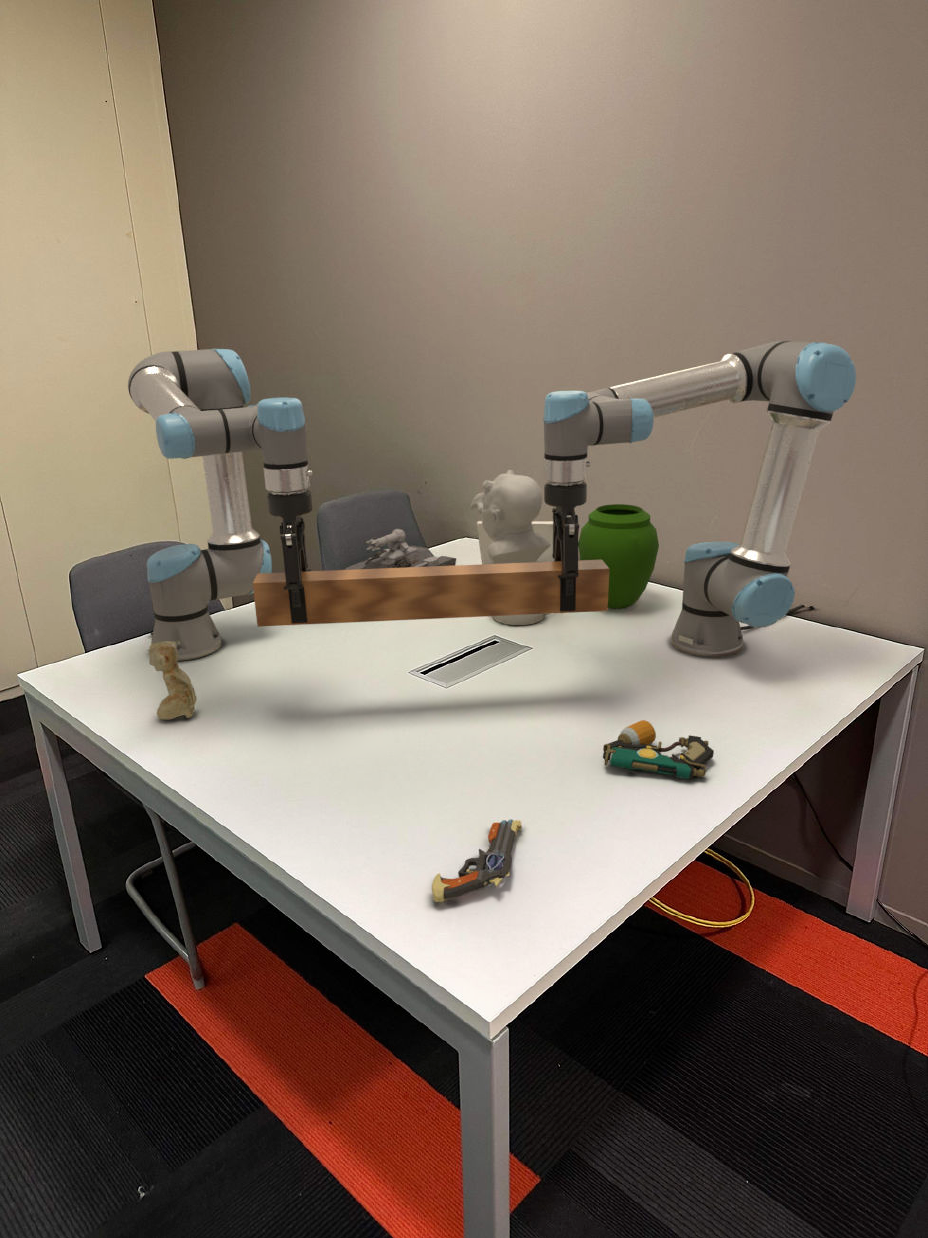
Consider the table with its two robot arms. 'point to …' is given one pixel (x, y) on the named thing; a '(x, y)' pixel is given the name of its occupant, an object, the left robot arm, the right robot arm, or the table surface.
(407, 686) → the table surface
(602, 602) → the wooden beam
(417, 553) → the toy
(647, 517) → the vase
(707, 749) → the spray gun
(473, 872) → the toy gun
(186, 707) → the sculpture
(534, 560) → the bust sculpture
